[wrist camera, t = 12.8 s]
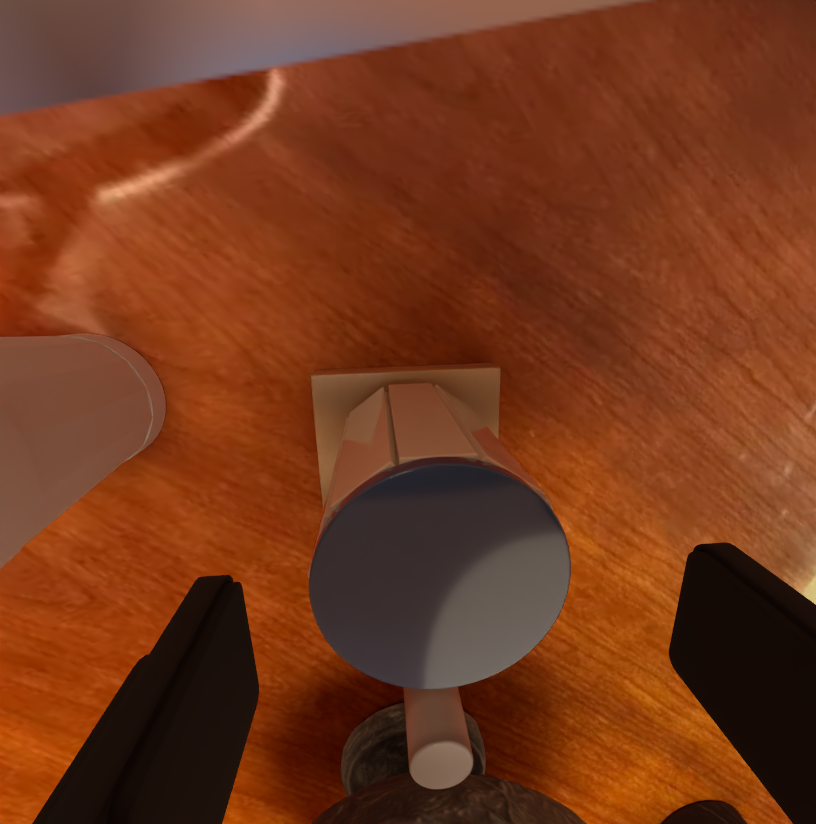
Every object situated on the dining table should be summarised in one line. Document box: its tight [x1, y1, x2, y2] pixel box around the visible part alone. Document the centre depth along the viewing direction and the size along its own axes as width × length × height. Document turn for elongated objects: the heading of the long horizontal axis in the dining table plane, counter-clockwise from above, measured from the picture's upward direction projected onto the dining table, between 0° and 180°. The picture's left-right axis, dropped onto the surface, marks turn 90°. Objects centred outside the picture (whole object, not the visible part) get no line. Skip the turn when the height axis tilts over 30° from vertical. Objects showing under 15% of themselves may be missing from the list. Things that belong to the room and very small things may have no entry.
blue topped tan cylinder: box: [307, 383, 571, 690], centre depth 15 cm, size 7×7×9 cm
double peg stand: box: [310, 363, 501, 789], centre depth 17 cm, size 14×9×12 cm, turn 2°
